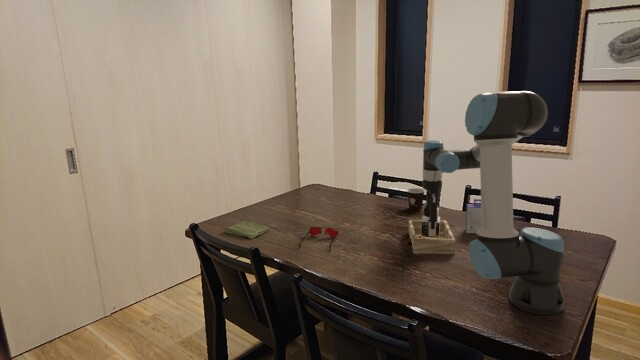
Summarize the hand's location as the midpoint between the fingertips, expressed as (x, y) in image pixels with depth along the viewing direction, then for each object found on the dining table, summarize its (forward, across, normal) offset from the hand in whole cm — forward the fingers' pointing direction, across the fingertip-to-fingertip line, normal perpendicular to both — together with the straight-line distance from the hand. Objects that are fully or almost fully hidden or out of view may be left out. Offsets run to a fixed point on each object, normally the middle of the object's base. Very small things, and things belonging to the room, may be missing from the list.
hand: (430, 231), depth 176 cm
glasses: (+5, -2, +47) cm, 47 cm away
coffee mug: (+5, +42, +1) cm, 42 cm away
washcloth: (+6, +10, +82) cm, 83 cm away
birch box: (+5, 0, 0) cm, 5 cm away
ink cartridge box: (+5, +13, -22) cm, 26 cm away
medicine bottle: (+1, 0, 0) cm, 1 cm away
